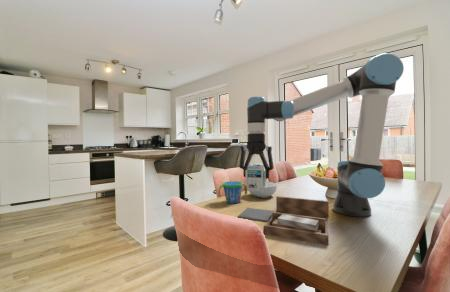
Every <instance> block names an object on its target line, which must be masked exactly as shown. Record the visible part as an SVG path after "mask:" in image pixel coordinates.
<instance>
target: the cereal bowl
mask: <svg viewBox="0 0 450 292" xmlns="http://www.w3.org/2000/svg"><path fill="white" fill-rule="evenodd" d="M277 187H278V185H277V183H276V182H273V181H272V182H271V181H267V186H264V190H263V192H261V191H248V192H249V193H250V194H251V195H253V196H255V197H256V198H260V197H261V198H262V199H263V198H269V197H270V196H272V195H274V194H275V193H276V191H277V189H278V188H277ZM261 198H260V199H261Z"/></svg>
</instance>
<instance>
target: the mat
mask: <svg viewBox="0 0 450 292" xmlns="http://www.w3.org/2000/svg"><path fill="white" fill-rule="evenodd" d="M272 212H276V210H270V209H262V208H261V209H260V208H254V207H247V208H245V209H244V210H243V211H242V212H241V213H240V214H238V216H237V218H238V217H240V218H239V219H244V218H245V220H251V221H260V222H266V223H268V221H269V220H270V219H271V217H272Z"/></svg>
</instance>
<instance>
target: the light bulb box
mask: <svg viewBox="0 0 450 292" xmlns="http://www.w3.org/2000/svg"><path fill="white" fill-rule="evenodd" d="M264 171H265V168H264V165H263V163H254V162H250V163H249V165H248V185H247V192H249V191H261V192H263V190H264Z"/></svg>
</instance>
